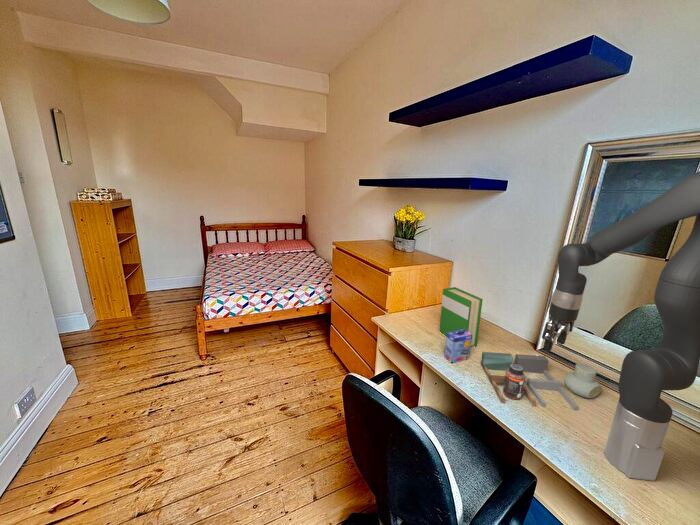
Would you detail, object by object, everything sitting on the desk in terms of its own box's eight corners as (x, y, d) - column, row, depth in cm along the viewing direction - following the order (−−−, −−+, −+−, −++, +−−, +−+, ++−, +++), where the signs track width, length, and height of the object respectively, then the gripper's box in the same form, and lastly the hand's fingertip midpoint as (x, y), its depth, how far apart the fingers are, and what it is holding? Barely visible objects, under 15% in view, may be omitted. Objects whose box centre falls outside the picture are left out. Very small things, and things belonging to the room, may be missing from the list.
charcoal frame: (577, 409, 94) (580, 394, 93) (541, 406, 95) (544, 391, 94) (541, 368, 116) (543, 355, 115) (513, 366, 118) (515, 353, 116)
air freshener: (577, 381, 108) (583, 358, 106) (602, 395, 101) (609, 371, 99) (558, 388, 105) (563, 364, 102) (583, 403, 97) (589, 378, 95)
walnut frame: (535, 405, 96) (538, 390, 94) (501, 402, 97) (503, 387, 96) (507, 365, 118) (509, 353, 116) (480, 363, 119) (482, 351, 118)
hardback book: (476, 346, 133) (482, 299, 127) (464, 349, 130) (469, 301, 124) (450, 330, 148) (454, 287, 143) (439, 332, 146) (443, 288, 140)
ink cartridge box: (451, 364, 119) (455, 333, 116) (443, 357, 124) (446, 327, 121) (470, 359, 122) (473, 329, 119) (461, 352, 127) (464, 323, 124)
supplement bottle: (524, 401, 98) (529, 373, 95) (505, 399, 99) (510, 371, 96) (518, 390, 103) (522, 363, 101) (500, 387, 105) (504, 361, 102)
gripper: (567, 313, 85) (554, 358, 90) (589, 303, 92) (576, 346, 97) (541, 303, 91) (530, 346, 96) (564, 295, 98) (553, 335, 103)
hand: (553, 346), depth 96 cm, fingers open, 8 cm apart
